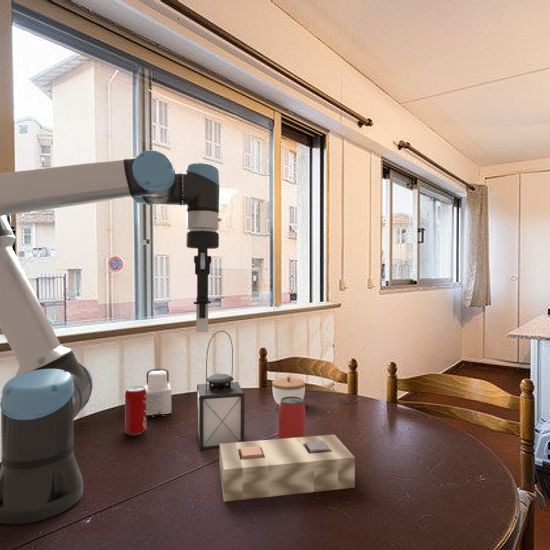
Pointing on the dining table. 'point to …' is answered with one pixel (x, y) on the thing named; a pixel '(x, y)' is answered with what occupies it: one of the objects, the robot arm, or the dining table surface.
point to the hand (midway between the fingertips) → (202, 331)
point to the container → (158, 392)
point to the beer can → (291, 417)
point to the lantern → (219, 410)
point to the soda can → (135, 410)
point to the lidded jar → (288, 388)
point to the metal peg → (316, 447)
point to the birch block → (285, 468)
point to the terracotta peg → (250, 452)
